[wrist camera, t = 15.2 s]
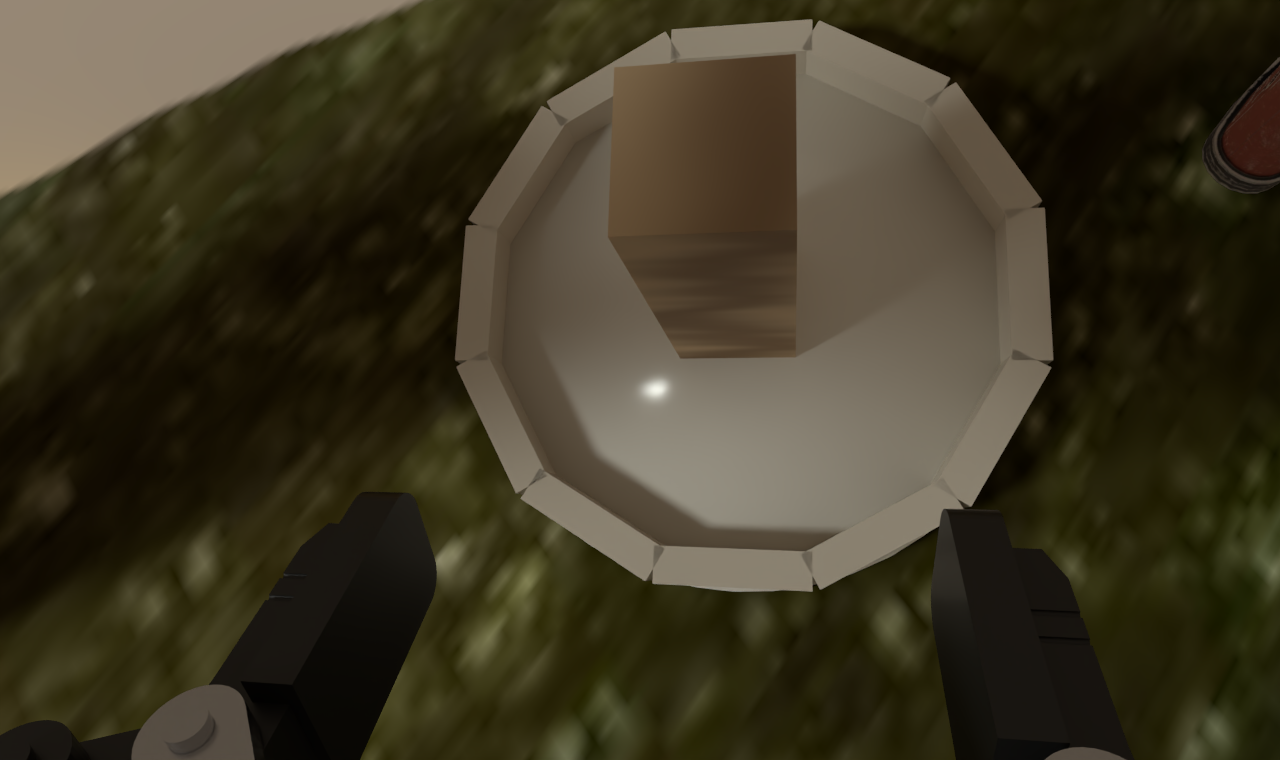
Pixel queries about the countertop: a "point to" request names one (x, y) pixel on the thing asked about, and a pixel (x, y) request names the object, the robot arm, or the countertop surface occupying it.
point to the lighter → (1248, 138)
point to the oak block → (709, 201)
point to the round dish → (765, 387)
